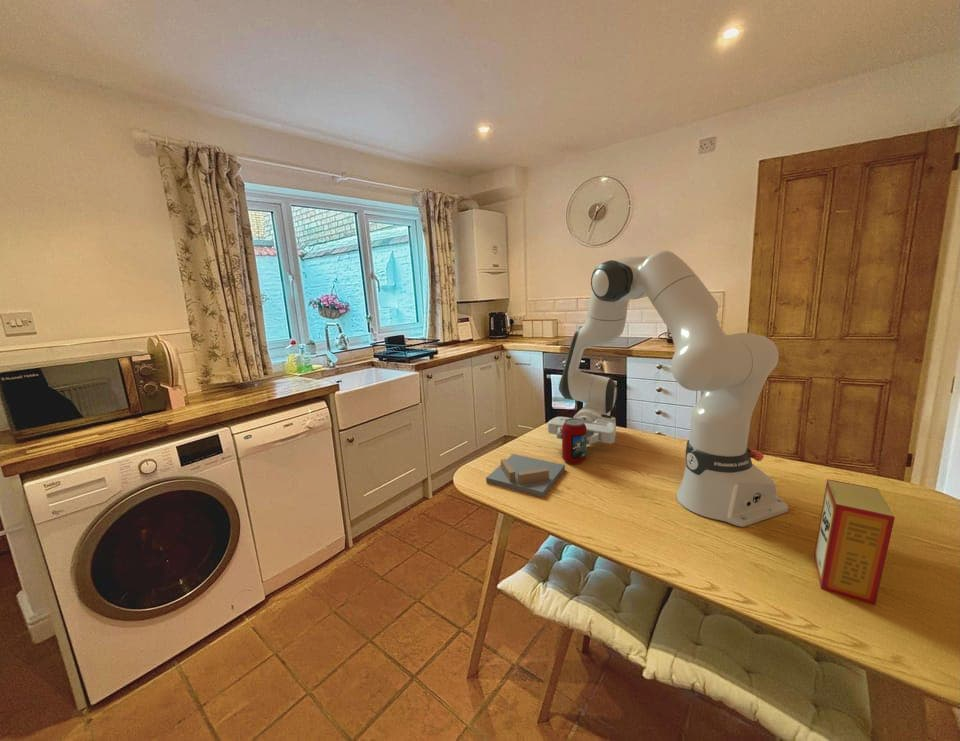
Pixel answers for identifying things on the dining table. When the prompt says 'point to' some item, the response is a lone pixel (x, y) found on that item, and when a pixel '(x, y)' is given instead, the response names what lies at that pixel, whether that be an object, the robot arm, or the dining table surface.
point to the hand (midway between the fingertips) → (573, 438)
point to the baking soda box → (852, 540)
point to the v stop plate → (523, 467)
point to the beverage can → (574, 441)
